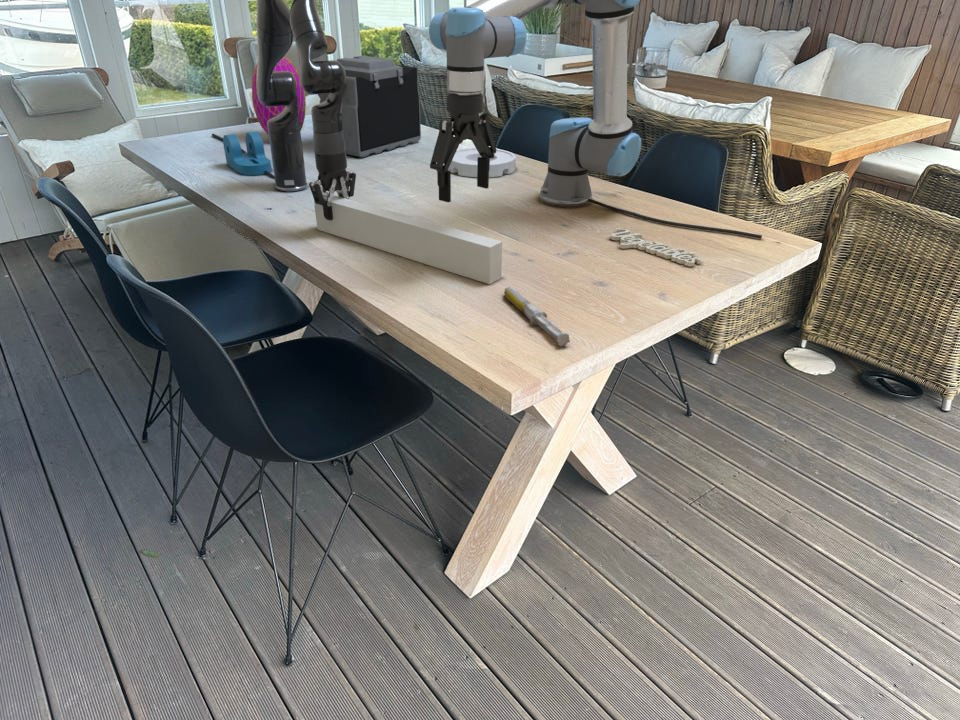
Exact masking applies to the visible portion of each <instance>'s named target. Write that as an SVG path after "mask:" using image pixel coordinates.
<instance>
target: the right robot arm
mask: <svg viewBox="0 0 960 720" xmlns="http://www.w3.org/2000/svg"><path fill="white" fill-rule="evenodd" d="M640 1H641V0H476V1H475V2H473V3H471V4H469V5H467V6H465V7H451V8H450V9H448V11H445V12H438V13H436V14H435V15H434V16H433V17H432V18H431V20H430V22H429V25H428V36H429V40H430V42H431V44H432V45H433V46H434V47H435V48H436V49H439V50H442V51H443V50H444V51H445V52H446V90H448V91H449V92H448V93H446V110H447V112H448V113H449V115H450V118H449V120H444V119H440V121H439V126H438V127H439V128H438V135H437V137H436V142H435V145H434V148H433V152H432V155H431V159H430V163H429V168H430V169H431V170H435V171H436V176H437V177H436V179H437V186H438V201H441V202H445V203H451V202H452V191H451V190H452V189H451V188H452V185H451V184H452V176H451V175H452V172H451V171H449V170H448V168H449V166H450V164H451V162H452V159H453V157H454V155H455V153H456V151H457V150H458V148H459V146H460V145H461V144H463V141H466V140H468V139H470V141H471V142H472V144H473V145H474V148H476V149H477V151H478V152H479V154H480V156H482V157H478V160H477V177H476V186H477V187H478V188H482V189H489V185H490V182H489V181H490V177H489V170H490V158H492V159H493V158H494V156H495V155H494V154H495V153H496V149H497V146H496V143H495V139H494V135H493V133H492V129H491V125H490V115H489V113H488V112H486V111H485V112H483V111H484V95H483V93H482V92H483V91H484V90H485V89H484V87H485V86H484V85H485V84H484V79H485V77H484V75H485V70H484V69H485V66H484V65H485V59H493V58H495V59H496V58H509V57H511V56H516V55H518V54H520V53H521V52H522V51H523V50H524V48H525V47H526V43H527V29H526V26H525V24H524V23H523V21H522V20H521V19H523V18H525V17H526V16H528V15H531V13H535V12H536V11H537V10H540V9H542V8H545V9H550V8H554V6H557V5H560V4H562V5H563V4H575V5H576V4H577V5H584V17H585V18H586V19H587V20H588V21H589V22H590V23H591V52H592V53H591V55H592V56H591V57H592V59H591V60H592V94H593V95H592V101H593V119H592V118H590V117H569V118H568V117H567V118H562V119H557V120H554V121H553V122H552V123H551V125H550V129H549V130H550V131H549V135H548V139H549V141H548V156H547V158H548V159H547V173H546V176H545V178H544V181H543V184H542V186H541V187H540V191H539V200H540V202H542V203H543V204H546V205H549V206H553V207H558V208H559V207H560V208H580V207H584V206H588V205H589V204H594V205H596V206H599V207H603V208H605V209H607V210H612V211H614V212H618V213H621V214H625V215H628V216H632V217H635V218H637V219H642V220H645V221H649V222H654V223H657V224H663V225H668V226H674V227H680V228H688V229H693V230H700V231H701V230H702V231H709V232H715V233H716V232H717V233H724V234H730V235H738V236H743V237H747V238H754V239H759V240H762V238H763V235H762V234H757V233H751V232H746V231H740V230H734V229H728V228H720V227H712V226H705V225H696V224H689V223H682V222H676V221H671V220H665V219H659V218H655V217H651V216H647V215H643V214H640V213H636V212H633V211H630V210H626V209H623V208H619V207H615V206H613V205H609V204H606V203H604V202H601V201H598V200H595V199H593V193H592V188H591V184H590V179H589V171H592V172H595V173H600V174H604V175H607V176H608V177H609V176H613V177H624V176H626V175H627V174H629V173H630V172H631V171H632V170H633V168H634V167H635V165H636V163H637V162H638V160H639V157H640V155H641V150H642V137H640V135H639V134H638V133H636V132H633V121H632V120H631V119H630V118H629V117H628V116H627V115H628V100H627V99H628V20H629V19H630V17H631V16H632V15H633V14H634V13H635V6H637V5H638V4H639V3H640ZM493 153H494V154H493Z"/></svg>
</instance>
